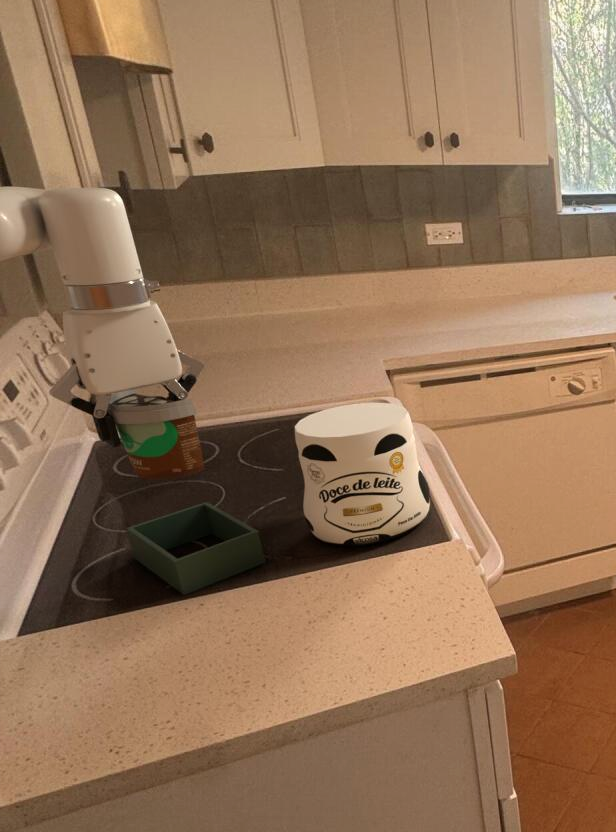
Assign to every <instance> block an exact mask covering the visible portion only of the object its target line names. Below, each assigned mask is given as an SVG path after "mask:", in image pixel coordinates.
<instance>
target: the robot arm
mask: <svg viewBox="0 0 616 832" xmlns="http://www.w3.org/2000/svg"><path fill="white" fill-rule="evenodd" d="M50 250H52V253H53V256H54V258H55V262H56V265H57V268H58V271H59V274H60V277H61V278H60V279H61V281H62V284H63V285H62V286H63V288H64V291H65V295H66V298H67V302H68V306H69V308H70V309H69V310H64V311H62V328H63V335H64V342H65V348H66V352H67V357H68V362H69V366H70V367H69V368H68V369H67V370H66V372H65V373H64V374H62V376H61V377H59V379H58V380H57V381H56V383H54V385H53V386H51V388H50V390H49V391H48V393H49V395H50V396H51V397H53V398H55V399H57V400H59V401H60V402H62V403H65V404H67V405H69V406H71V407H72V408H74V409H77V410H79V411H81V412H84V413H85V414H88V415H90V416H92V420H93V424H94V426H95V429H96V433H97V436H98V438H99V440H100V441H101V442H105V443H106V444H108V445H109V446H111V447H113V448H115V449H116V448H118V447H119V448H120V446H121V445H122V440H121V437H120V435H119V432H118V430H117V427H116V425H115V421H114V418H113V416H111V415H109V414H108V411H107V409H108V405H109V402H110V398H111V395H113V394H115V393H118V392H123V391H127V390H132V389H135V390H137V389H142V388H147V387H151V386H156V385H160V386H161V387H162V388H164V390H165V391H166V392H167V395H168V396H166V398H167V399H170V400H172V401H175V402H176V401H180V400H184V399H188V398H189V392H190V391H191V390H192V388H194V386H195V385H196V383H197V380H198V378H199V377H200V376H201V374H202V373H203V372H204V369H205V368H206V363H205V362H203V361H201V360H200V359H197V358H195V357H193V356H191V355H189V354H187V353H185V352H183V351H181V350H179V349H177V345H176V342H175V341H174V338H173V335H172V333H171V330H170V328H169V325H168V323H167V320H166V319H165V317H164V315H163V312H162V311H161V308H160V307H159V306H158V303H157V302H155V301H154V300H152V297H151V295H152V294H154V293H155V292H160V291H161V285H160V283H159V281H158V280H149V279H148V280H147V279H146V277H144V275H143V270H142V267H141V264H140V260H139V256H138V252H137V248H136V244H135V241H134V237H133V232H132V229H131V225H130V222H129V219H128V214H127V211H126V207H125V203H124V201H123V199H122V197H121V196H120V195H119V193H117V191H115V190H113V189H109V188H106V187H63V188H55V189H44V188H34V187H24V186H10V185H9V186H8V185H7V186H0V262H2V261H6V260H10V259H12V258H16V257H22V256H27V255H31V254H35V253H39V252H45V251H50ZM182 364H183V365H185V366H186V369H185V372H184V373H183V366H182ZM177 379H178V380H177ZM75 386H77V388H78V389H81V390H85V391H86V390H87V392H88V393H89V396H88V398H87V400H86V399H83V398H82V397H79V396H77V395H75V394H73V392H72V390H73V388H75Z"/></svg>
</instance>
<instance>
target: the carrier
mask: <svg viewBox="0 0 616 832" xmlns="http://www.w3.org/2000/svg"><path fill="white" fill-rule="evenodd" d="M125 530H126V533H127V536H128V539H129V542H130V545H131V548H132V551H133V555H134V558H135V560H136V561H137V562H139V563H140V564H142V565H143V566H144V567H145V568H147V569H148V570H150V571H151V572H152V573H153V574H154V575H156V576H158V577H159V578H160V579H161V580H163V581H164V582H166V583H167V584H168V585H170V586H171V587H173V588H174V589H175V590H177V591H178V592H179V593H181V594H182V595H183V596H186V595H189V594H190V593H193V592H195V591H199V590H201V589H203V588H205V587H208V586H211V585H214V584H216V583H218V582H220V581H223V580H225V579H228V578H231V577H233V576H236V575H239V574H241V573H243V572H246V571H248V570H251V569H253V568H256V567H258V566H260V565H263V564H266V558H265V554H264V550H263V545H262V541H261V538H260V534H259V530H256V529H255V528H253V527H251V526H250V525H249V524H246V523H244V522H243V521H241V520H239V519H237V518H236V517H234V516H232V515H230V514H228V513H227V512H225V511H223V510H222V509H220V508H218V507H216V506H215V505H213V504H211V503H209V502H208V501H205V502H203V503H199V504H195V505H194V506H190V507H187V508H184V509H181V510H178V511H175V512H172V513H169V514H166V515H161V516H160V517H155V518H154V519H150V520H147V521H144V522H141V523H138V524H135V525H132V526H129V527H126V528H125ZM210 535H213V536H215V537H216V538H218V539H219V540H221V541H223V542H220V543H217V544H214V545H212V546H208V547H205V548H204V549H200V550H198V551H195V552H192V553H189V554H187V555H184V556H181V557H179V558H177V557H176V556H175V555H173V554H172V553H170V552H168V551H169V550H171V549H175V548H176V547H179V546H182V545H185V544H188V543H190V542H193V541H196V540H199V539H202V538H205V537H208V536H210Z"/></svg>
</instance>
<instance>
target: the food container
mask: <svg viewBox="0 0 616 832" xmlns="http://www.w3.org/2000/svg"><path fill="white" fill-rule="evenodd" d="M107 411H108V414H109V415H111V416H113V418H114V421H115V425H116V428H117V431H118V435H119V438H120V441H121V443H122V445H123V446H124V450H125V452H126V454H127V457H128V459H129V461H130V464H131V466H132V469H133V471H134V473H135V476H137V477H138V478H140V479H144V480H166V479H167V480H168V479H173V478H180V477H185V476H189V475H192V474H197V473H199V472H202V471H205V470H206V469H205V464H204V458H203V452H202V447H201V443H200V438H199V432H198V426H197V422H196V421H197V420H196V417H195V415H198V412H197V409H196V407H195V404H194V402H193V401H192V399H191V397H187V398H186V399H184V400H180V401H176V402H175V401H172V400H170V399H167V397H164V396H162V395H144V394H139V393H137V389H132V390H127V391H123V392H118V393H112V394H111V398H110V402H109V405H108V409H107Z"/></svg>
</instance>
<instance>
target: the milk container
mask: <svg viewBox="0 0 616 832" xmlns="http://www.w3.org/2000/svg"><path fill="white" fill-rule="evenodd" d="M294 440H295V445H296V447H297V451H298V460H299V464H300V467H301V470H302V475H303V480H304V491H303V492H304V493H303V503H302V504H303V515H304V518H305V521H306V523H307V526H308V528H309V531H310V532H311V534H312V535H313V536H314V537H315V538H316V539H318V540H319V541H321V542H323V543H326V544H328V545H333V546H341V547H360V546H361V547H363V546H368V545H372V544H373V545H374V544H379V543H384V542H387V541H389V540H393V539H395V538H398V537H401V536H403V535H405V534H407V533H408V532H410V531H412V530H414V529H415V528H416V527H417V526H419V525H420V524H421V523H422V522H423V521H424V520H425V519H426V517H427V516H428V513H429V511H430V505H431V492H430V486H429V483H428V481H427V478H426V476H425V475H424V472H423V469H422V468H421V466H420V463H419V459H418V453H417V446H416V438H415V435H414V426H413V423H412V419H411V416H410V413H409V411H408V410H407V409H406V407H405V406H402V405H399V404H396V403H389V402H361V403H353V404H344V405H339V406H334V407H331V408H326V409H322V410H320V411H317V412H314V413H311V414H308V415H307V416H305V417H303V418H301V419H300V420H298V421H297V423H296V424H295V425H294Z"/></svg>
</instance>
